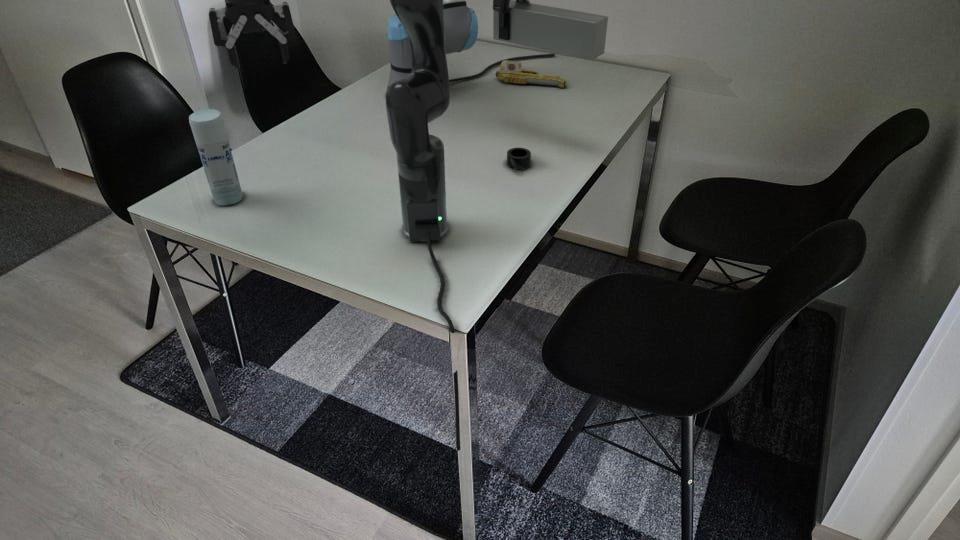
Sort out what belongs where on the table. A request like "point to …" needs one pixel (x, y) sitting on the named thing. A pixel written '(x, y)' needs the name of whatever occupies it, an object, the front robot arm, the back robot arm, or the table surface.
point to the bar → (555, 29)
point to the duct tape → (518, 158)
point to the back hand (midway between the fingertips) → (511, 35)
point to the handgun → (526, 75)
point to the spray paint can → (216, 156)
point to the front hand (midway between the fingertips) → (261, 64)
